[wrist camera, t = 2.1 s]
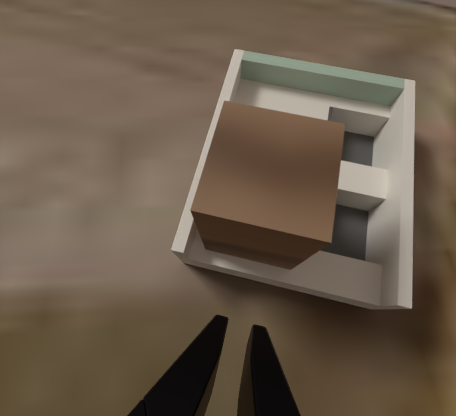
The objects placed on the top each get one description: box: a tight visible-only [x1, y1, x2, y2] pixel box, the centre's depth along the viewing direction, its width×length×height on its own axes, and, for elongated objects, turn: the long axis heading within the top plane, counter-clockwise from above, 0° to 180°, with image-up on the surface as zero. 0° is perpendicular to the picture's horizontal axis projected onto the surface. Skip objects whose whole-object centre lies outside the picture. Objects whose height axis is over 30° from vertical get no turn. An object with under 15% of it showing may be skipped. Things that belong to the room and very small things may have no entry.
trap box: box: [171, 49, 415, 309], centre depth 22 cm, size 17×15×5 cm
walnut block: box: [190, 101, 345, 270], centre depth 16 cm, size 6×6×8 cm
